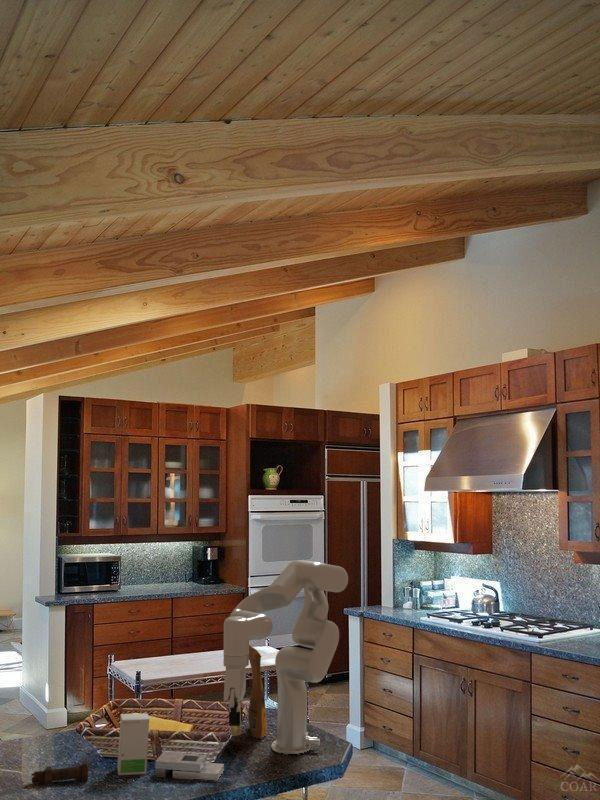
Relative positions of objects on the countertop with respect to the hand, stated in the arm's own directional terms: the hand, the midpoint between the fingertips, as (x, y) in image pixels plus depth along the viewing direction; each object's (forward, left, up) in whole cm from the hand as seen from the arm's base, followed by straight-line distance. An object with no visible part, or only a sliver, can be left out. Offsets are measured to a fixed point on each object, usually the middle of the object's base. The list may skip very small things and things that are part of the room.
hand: (235, 722), depth 238 cm
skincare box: (+29, +5, -14) cm, 33 cm away
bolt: (+46, +16, -15) cm, 51 cm away
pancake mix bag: (0, -37, -14) cm, 40 cm away
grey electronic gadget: (+12, +4, -14) cm, 19 cm away
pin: (0, 0, -3) cm, 3 cm away
